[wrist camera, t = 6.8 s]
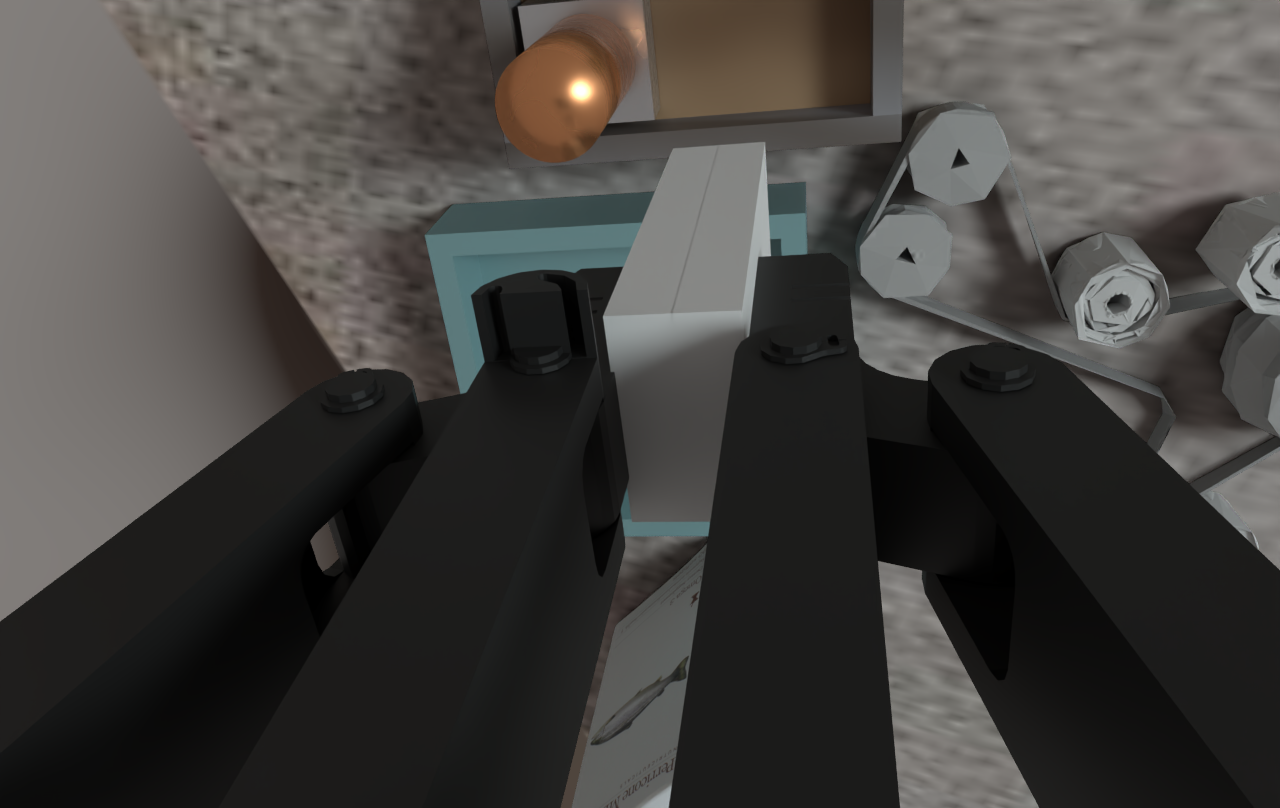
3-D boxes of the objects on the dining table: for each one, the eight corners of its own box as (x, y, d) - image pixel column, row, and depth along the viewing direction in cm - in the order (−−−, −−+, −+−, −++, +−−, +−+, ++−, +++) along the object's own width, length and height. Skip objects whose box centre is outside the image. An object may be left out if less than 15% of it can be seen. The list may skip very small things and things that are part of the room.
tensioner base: (894, 110, 33) (905, 145, 29) (536, 136, 35) (506, 172, 31) (897, -96, 30) (908, -84, 26) (505, -53, 32) (469, -37, 28)
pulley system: (1277, -87, 29) (806, 159, 34) (1367, -70, 25) (817, 206, 30) (1442, 568, 41) (1070, 687, 45) (1522, 653, 36) (1105, 773, 41)
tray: (814, 488, 40) (815, 535, 38) (512, 491, 43) (492, 536, 40) (805, 182, 34) (805, 213, 32) (452, 204, 36) (424, 235, 34)
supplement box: (715, 527, 42) (684, 773, 31) (845, 624, 44) (859, 889, 33) (609, 621, 46) (548, 872, 35) (733, 707, 47) (712, 973, 36)
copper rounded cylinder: (660, 108, 31) (628, 171, 26) (547, 116, 32) (493, 180, 26) (648, -14, 29) (612, 27, 24) (529, -2, 30) (467, 40, 25)
